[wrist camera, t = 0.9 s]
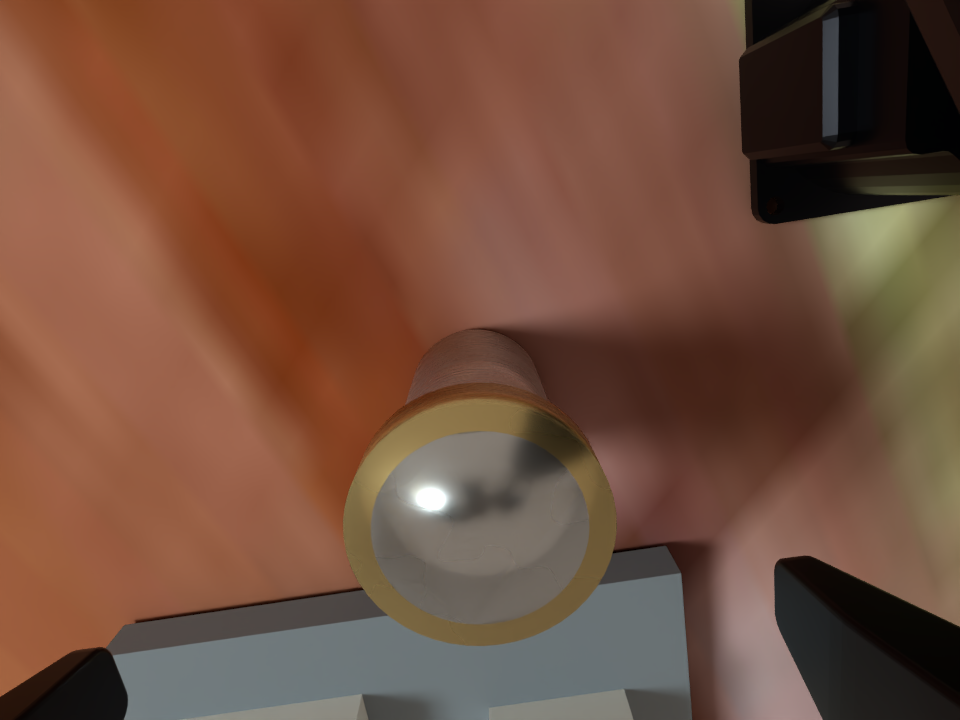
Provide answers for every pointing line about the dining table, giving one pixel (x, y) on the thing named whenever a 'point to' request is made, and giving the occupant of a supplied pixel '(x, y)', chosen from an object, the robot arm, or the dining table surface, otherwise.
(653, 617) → the board
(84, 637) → the dining table surface
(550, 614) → the gold capped canister
